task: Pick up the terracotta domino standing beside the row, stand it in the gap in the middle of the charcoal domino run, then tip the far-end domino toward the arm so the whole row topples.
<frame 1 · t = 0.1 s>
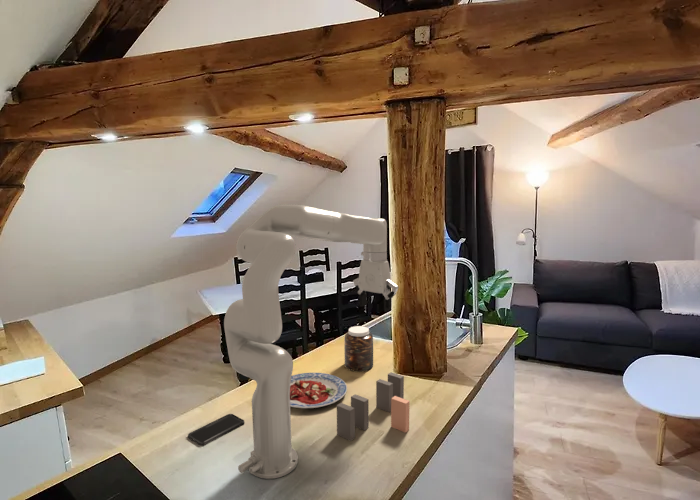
hand: (375, 307, 140), 31 cm above the counter, tool pointing down, fingers open, 9 cm apart
jar: (358, 366, 171), on the counter
phone: (217, 431, 126), on the counter
domino 4: (359, 426, 127), on the counter
domino 2: (384, 408, 137), on the counter
terracotta domino: (400, 428, 126), on the counter
domino 5: (345, 436, 122), on the counter
domino 1: (395, 400, 142), on the counter
ceramic plate: (309, 394, 148), on the counter
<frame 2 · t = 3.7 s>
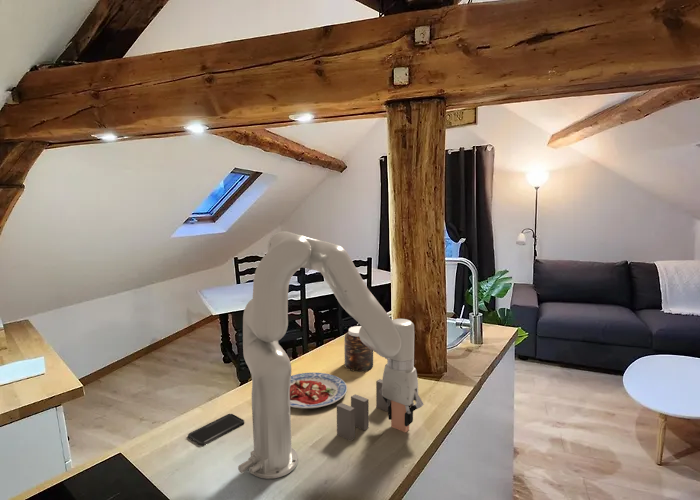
hand: (400, 420, 126), 2 cm above the counter, tool pointing down, fingers closed on terracotta domino, 4 cm apart
terracotta domino: (400, 428, 126), on the counter, touching gripper
everything else where it was.
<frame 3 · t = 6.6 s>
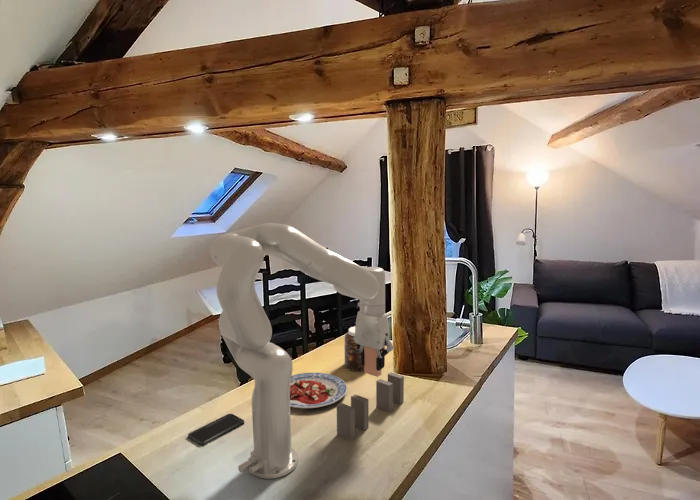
hand: (372, 366, 130), 17 cm above the counter, tool pointing down, fingers closed on terracotta domino, 4 cm apart
terracotta domino: (372, 373, 130), point 14 cm above the counter, touching gripper
everything else where it was.
when the fingers open (3 cm above the counter, at t = 9.9 s): terracotta domino stays where it is, on the counter.
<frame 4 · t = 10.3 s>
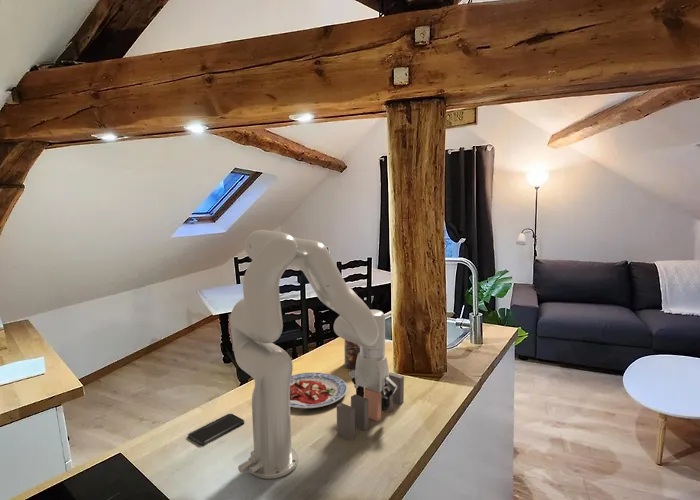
hand: (372, 404, 132), 4 cm above the counter, tool pointing down, fingers open, 9 cm apart
terracotta domino: (372, 417, 132), on the counter
everything else where it was.
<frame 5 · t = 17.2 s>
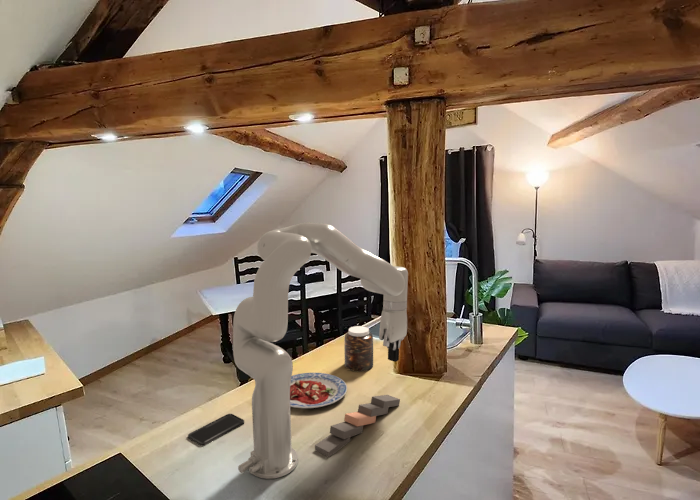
hand: (393, 360, 139), 15 cm above the counter, tool pointing down, fingers closed
domino 4: (355, 426, 125), point 1 cm above the counter, tilted 75°, touching domino 5, terracotta domino
domino 2: (381, 407, 136), point 1 cm above the counter, tilted 72°, touching domino 1, terracotta domino
terracotta domino: (369, 416, 131), point 1 cm above the counter, tilted 72°, touching domino 2, domino 4
domino 5: (343, 436, 121), on the counter, tilted 90°, touching domino 4
domino 1: (393, 400, 141), point 1 cm above the counter, tilted 72°, touching domino 2
everything else where it was.
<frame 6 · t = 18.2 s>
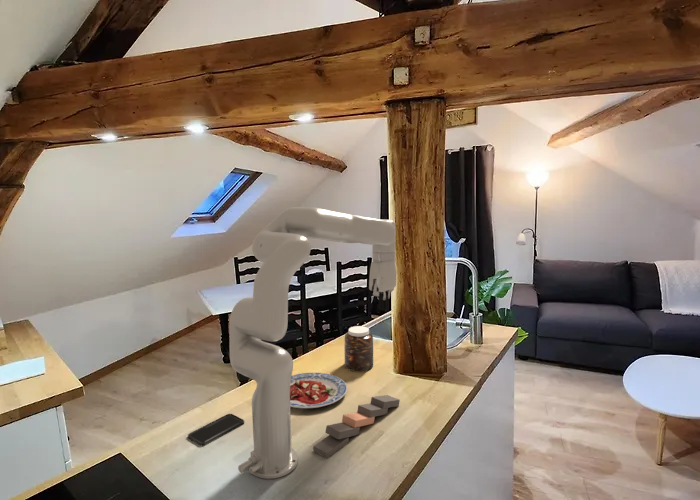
hand: (383, 310, 144), 29 cm above the counter, tool pointing down, fingers closed
domino 4: (352, 427, 125), point 1 cm above the counter, tilted 73°, touching terracotta domino
domino 5: (341, 437, 121), on the counter, tilted 90°
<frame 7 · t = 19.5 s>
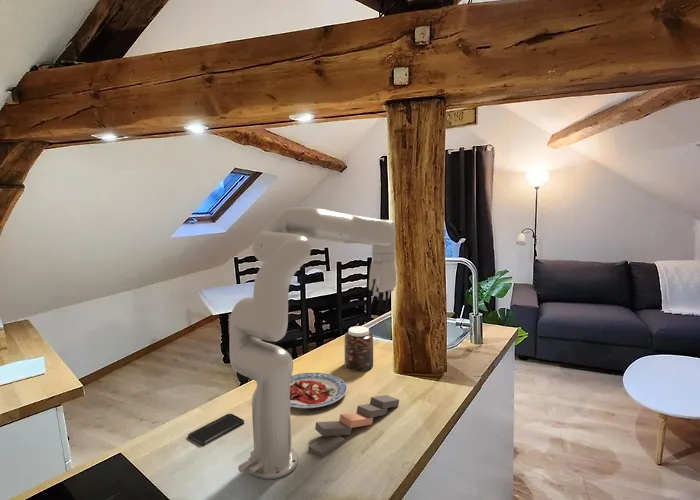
hand: (383, 310, 145), 29 cm above the counter, tool pointing down, fingers closed
domino 4: (346, 427, 124), point 1 cm above the counter, tilted 76°
terracotta domino: (366, 417, 130), point 1 cm above the counter, tilted 74°, touching domino 2
domino 5: (337, 438, 121), on the counter, tilted 90°
everything else where it was.
at the end: domino 5 tilted 90°; terracotta domino tilted 74°; terracotta domino inside the target area (0.1 cm from its centre), point 1.0 cm above the counter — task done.
